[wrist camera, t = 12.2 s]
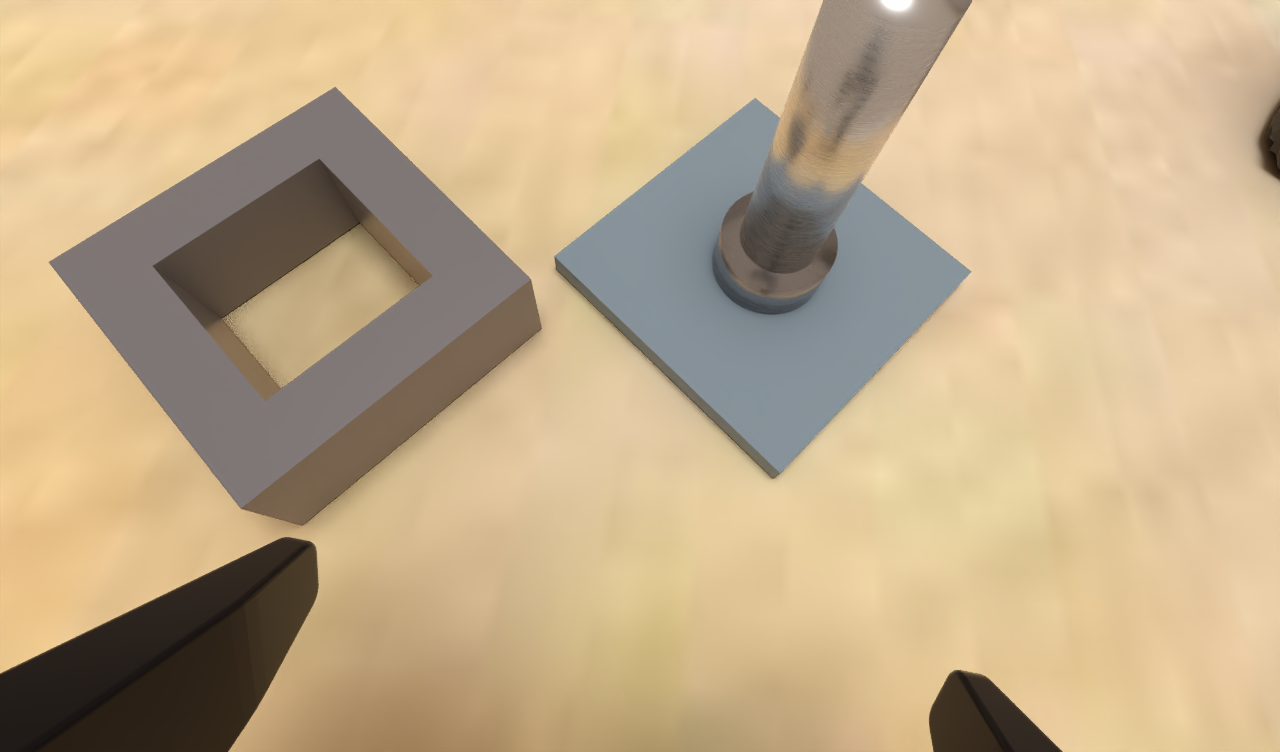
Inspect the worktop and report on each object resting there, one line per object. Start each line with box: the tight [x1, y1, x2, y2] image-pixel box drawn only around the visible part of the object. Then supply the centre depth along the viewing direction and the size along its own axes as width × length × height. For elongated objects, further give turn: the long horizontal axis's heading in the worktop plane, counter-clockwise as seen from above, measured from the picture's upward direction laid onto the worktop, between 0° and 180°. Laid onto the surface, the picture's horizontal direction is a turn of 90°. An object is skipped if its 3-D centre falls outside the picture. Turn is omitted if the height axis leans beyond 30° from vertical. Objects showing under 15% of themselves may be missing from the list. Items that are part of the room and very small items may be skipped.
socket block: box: [49, 87, 541, 525], centre depth 23 cm, size 11×11×4 cm
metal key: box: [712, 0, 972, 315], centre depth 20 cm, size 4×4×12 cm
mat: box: [554, 98, 971, 478], centre depth 26 cm, size 12×12×1 cm
